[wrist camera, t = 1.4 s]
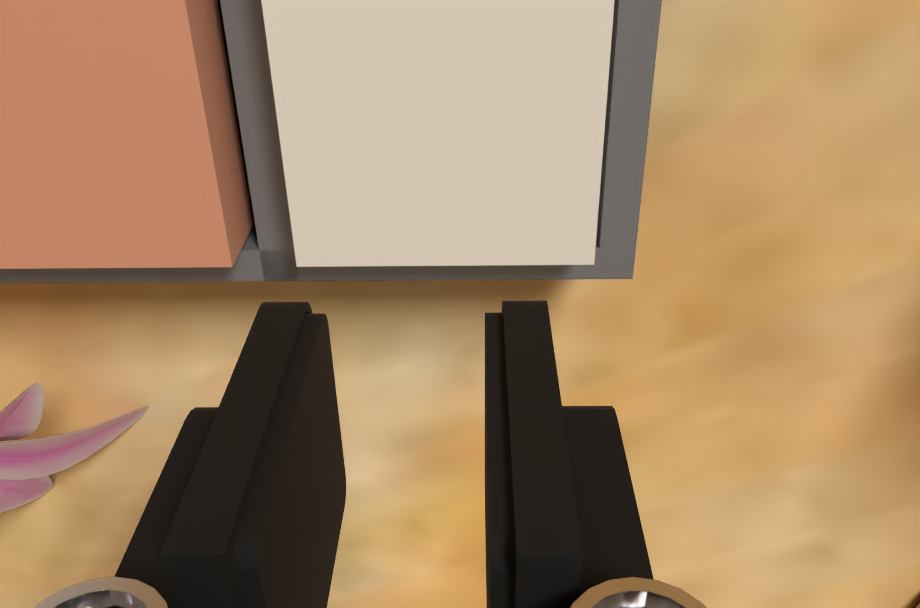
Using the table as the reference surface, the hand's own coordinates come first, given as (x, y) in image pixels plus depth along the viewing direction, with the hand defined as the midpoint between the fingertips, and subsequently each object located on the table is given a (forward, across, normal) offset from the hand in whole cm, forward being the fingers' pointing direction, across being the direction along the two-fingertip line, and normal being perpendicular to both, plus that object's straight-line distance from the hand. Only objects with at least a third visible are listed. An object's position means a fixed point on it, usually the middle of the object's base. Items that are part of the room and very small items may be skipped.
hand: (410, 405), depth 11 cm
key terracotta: (+14, +10, 0) cm, 17 cm away
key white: (+14, 0, 0) cm, 14 cm away
